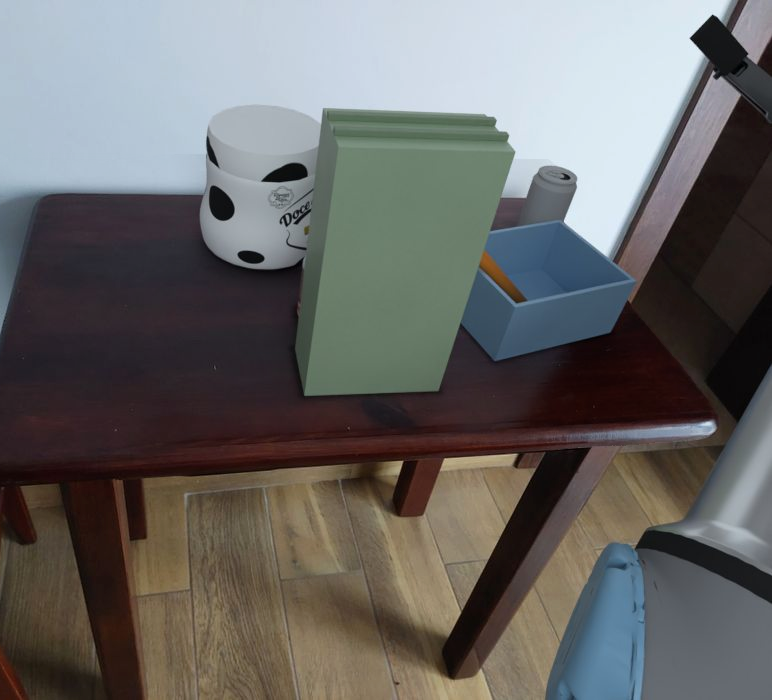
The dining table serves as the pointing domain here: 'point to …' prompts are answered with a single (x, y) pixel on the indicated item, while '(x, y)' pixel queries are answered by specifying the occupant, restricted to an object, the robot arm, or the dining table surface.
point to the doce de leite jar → (259, 186)
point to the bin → (544, 291)
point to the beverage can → (548, 196)
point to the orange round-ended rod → (500, 278)
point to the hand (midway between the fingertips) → (745, 50)
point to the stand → (394, 245)
